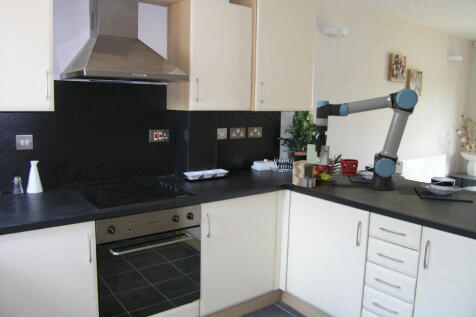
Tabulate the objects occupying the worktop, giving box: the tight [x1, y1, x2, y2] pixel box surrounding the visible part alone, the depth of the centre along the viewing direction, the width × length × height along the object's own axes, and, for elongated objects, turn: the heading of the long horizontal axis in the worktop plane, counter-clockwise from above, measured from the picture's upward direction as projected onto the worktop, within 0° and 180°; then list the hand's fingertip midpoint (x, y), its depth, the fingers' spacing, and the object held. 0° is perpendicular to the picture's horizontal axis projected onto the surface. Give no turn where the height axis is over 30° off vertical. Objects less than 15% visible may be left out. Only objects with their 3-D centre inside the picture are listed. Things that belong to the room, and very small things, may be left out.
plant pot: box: [340, 158, 359, 177], centre depth 302 cm, size 13×13×12 cm
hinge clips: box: [301, 176, 317, 188], centre depth 259 cm, size 6×6×6 cm
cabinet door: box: [306, 143, 331, 166], centre depth 252 cm, size 14×4×12 cm, turn 53°
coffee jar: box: [293, 151, 307, 162], centre depth 288 cm, size 11×11×18 cm
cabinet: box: [291, 160, 315, 187], centre depth 266 cm, size 9×14×15 cm, turn 143°
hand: (319, 161), depth 252 cm, fingers closed on cabinet door, 3 cm apart
